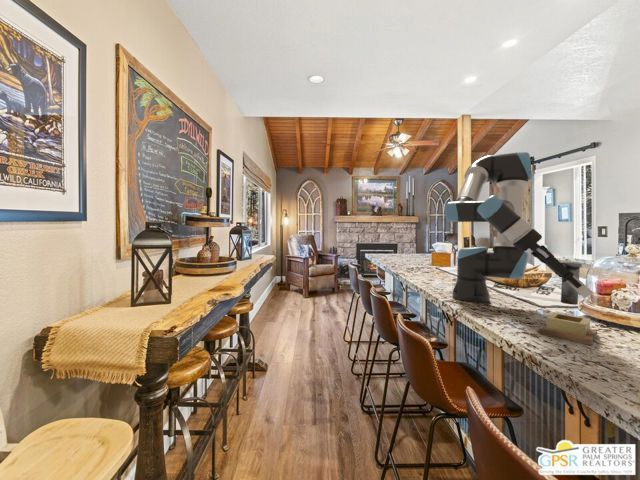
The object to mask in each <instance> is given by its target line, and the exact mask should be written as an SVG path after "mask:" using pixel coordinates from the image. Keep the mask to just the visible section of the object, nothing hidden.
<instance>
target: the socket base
mask: <svg viewBox="0 0 640 480" xmlns="http://www.w3.org/2000/svg"><path fill="white" fill-rule="evenodd" d="M546 324H547V322H545V323H543V324H542V326H541V327H539V328H538V334H539V335H542V336H548V337H551V338H557V339H561V340H566V341H570V342H573V343H574V342H575V343H579V344H584V345H586V346H587V345H588V346H592V344H593V343H594V341H595V339H596V337H597V335H598V330H597V329H592V328H590V330H589V332H588V333H587V335H586V336H585V337H582V336H577V335H572V334H567V333H563V332H558V331H553V330H548V329H546Z"/></svg>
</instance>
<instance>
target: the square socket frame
mask: <svg viewBox="0 0 640 480" xmlns="http://www.w3.org/2000/svg"><path fill="white" fill-rule="evenodd" d="M546 323H547V324H546V329H548V330H553V331H558V332H563V333H567V334H572V335H577V336H582V337H585V336H586V335H587V333H588V332H589V330H590V329H591V318H590V317H589V318H588V317H582V316H578V315H571V314H565V313H559V312H553V311H552V313H551V314H549V315H548V316H547V317H546Z"/></svg>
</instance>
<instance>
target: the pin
mask: <svg viewBox="0 0 640 480" xmlns="http://www.w3.org/2000/svg"><path fill="white" fill-rule="evenodd" d="M560 263H562V264H563V265H564V266H565V267H566V268H567V269H568V270H569V271H570V272H572V273H573V274H574V276H576V277H577V278H578V279H579V280H580V274H581V273H580V270H581V269H580V268H582V266H583V265H582V264H583V263H581V262H580V263H579V262H570V261H569V262H568V261H567V262H566V261H560ZM561 278H562V277H561ZM562 280H564V279H563V278H562V279H561V291H560V302H561V303H562V304H567V305H578V304H579V294H578V292H577V291H576V290H575V289H573V288H572V287H571V286H570V285H569V284H568V283H567V282H566V281H565V282H563V281H562Z"/></svg>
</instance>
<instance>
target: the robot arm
mask: <svg viewBox="0 0 640 480" xmlns="http://www.w3.org/2000/svg"><path fill="white" fill-rule="evenodd" d="M532 172H533V171H532V162H531V156H530V154H529V152H526V151H524V152H523V151H522V152H519V151H517V152H510V153H502V154H501V153H500V154H490V155H486V156H483V157H481V158H479V159H478V160H476V161H473V163H471V165H470V166H468V167H467V169H466V171H465V173H464V176H463V177H464V181H463V183H462V186H461V188H460V190H459V193H458V195H457V197H456V199H455V201H449V202H447V203H446V204H445V208H444V216H445V217H444V218H445V220H446V221H447V222H450V223H451V222H456V223H467V222H468V223H488V224H489V225H491V226H492V227H493V229H495V230H496V231H497V238H496V243H495V244H494V245H492V250H490V249H488V247H487V246H474V247H463V248H459V250H458V253H457V269H456V271H457V273H456V274H457V275H456V282H455V285H454V286H453V290H452V295H451V296H452V298H453V299H456V300H460V301H464V302H471V303H485V302H486V303H487V302H490V297H491V296H490V293H489V289H488V286H487V282H486V281H487V280H486V279H487V278H486V277H489V278H498V279H509V280H521V279H523V278H524V276H525V274H526V269H527V265H528V260H529V252H528V250H530V251H531V253H530V255H532V256H533V257H534V258H536V259H538V260H539V261H540V262H541V263H543V264H545V265H546V266H547V267H548V268H549V269H550V270H551V271H552V272H554V274H555V275H556V276H558V278H560V279H561V282H562V281H563V282H565V281H566V282H567V283H568V284H569V285H570V286H571V287H572V288H573V289H575V290H576V291H577V292H578V296H581V297H582V298H583V299H586V298H588V297H589V296H591V295H593V294H594V291H592V290H591V289H590V287H588V286H587V285H586V284H585V283H584V282H583V281H581V280H580V278H579V279H578V278H577V277H576V276H574V274H573V273H572V272H570V271H569V270H568V269H567V268H566V267H565V266H564V265H563V264H562V263H561V261H559V260H558V259H557V258H556V257H555V255H554V254H553V253H552V252H550V250H548V248H547V247H546V246H545V245H543V244H541V245H540V244H539V242H540V240H542V238H543V236H542V234H541V233H539V232H538V231H537V230H536V229H535V228H532V226H531V224H530V223H528V221H526V220H525V219H523V203H524V202H523V200H524V188H525V187H526V186H527V185H528V183H529V181H530V180H532V179H533V174H532ZM489 182H492V183H493V182H494V183H495V182H496V185H495V186H496V187H498V188H499V197H498V196H497V195H494V194H492V195H491V196H489V197H488V198H486V200H479V198H480V195H481V192H482V190H483V187H484V185H485V184H486V183H489ZM562 278H563V279H564V280H562Z"/></svg>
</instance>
